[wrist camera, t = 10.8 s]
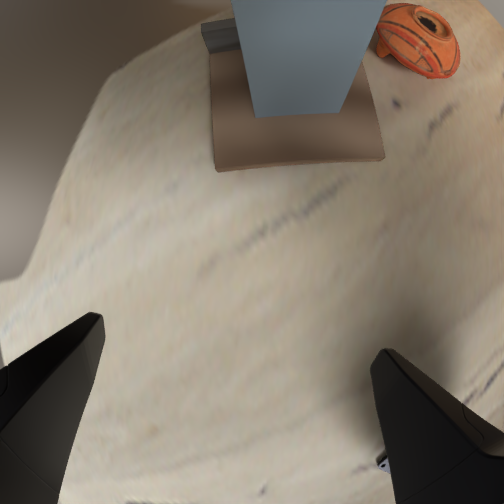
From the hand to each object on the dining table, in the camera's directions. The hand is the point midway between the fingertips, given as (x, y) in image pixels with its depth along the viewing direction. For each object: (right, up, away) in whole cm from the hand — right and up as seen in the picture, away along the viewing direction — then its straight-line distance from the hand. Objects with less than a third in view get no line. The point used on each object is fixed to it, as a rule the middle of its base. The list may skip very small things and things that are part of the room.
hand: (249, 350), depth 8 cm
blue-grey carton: (+3, +15, +11) cm, 19 cm away
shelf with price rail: (+3, +15, +12) cm, 19 cm away
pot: (+14, +20, +11) cm, 27 cm away
